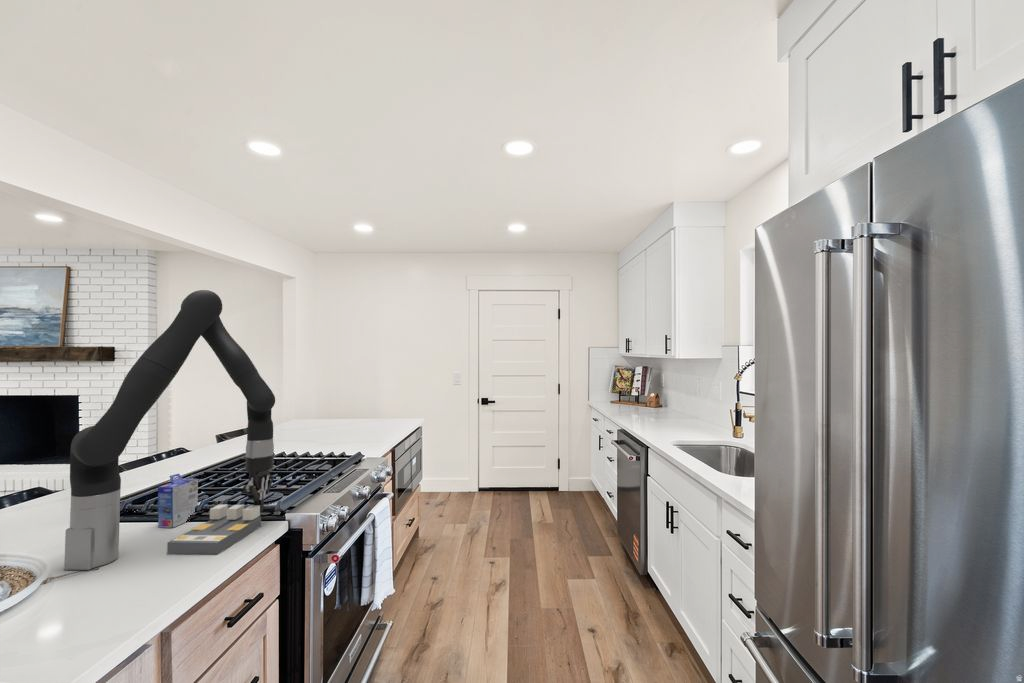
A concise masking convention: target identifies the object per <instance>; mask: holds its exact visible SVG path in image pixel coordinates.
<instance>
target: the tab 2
mask: <svg viewBox="0 0 1024 683" xmlns="http://www.w3.org/2000/svg"><path fill="white" fill-rule="evenodd" d="M258 516H261V512H260V505H254V504H253V505H252V504H251V505H249V506H247V507H245V508H244V509H243V520H253V519H255V518H257V517H258Z"/></svg>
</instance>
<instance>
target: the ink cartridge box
mask: <svg viewBox="0 0 1024 683" xmlns="http://www.w3.org/2000/svg"><path fill="white" fill-rule="evenodd" d="M175 477H177V478H176V479H174V478H175ZM169 479H170V482H169V483H166V484H164V485H161V486H158V487H157V504H158V505H157V515H158V518H157V521H158V523H157V525H158V528H166V529H172V528H175V527H178V526H180V525H182V524H185V523H186V521H187V519H188V517H190V515H192V514H193V513H194V512H195V507H196V506H197V505H198V504H199V503H198V501H199V500H198V498H199V496H198V494H199V493H198V492H199V486H198V485H199V482H198V481H199V479H198V478H187V477H186V478H183V477H182V476H181V474H180V473H175V474H172V475H169ZM198 506H199V505H198ZM187 522H188V521H187Z"/></svg>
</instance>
